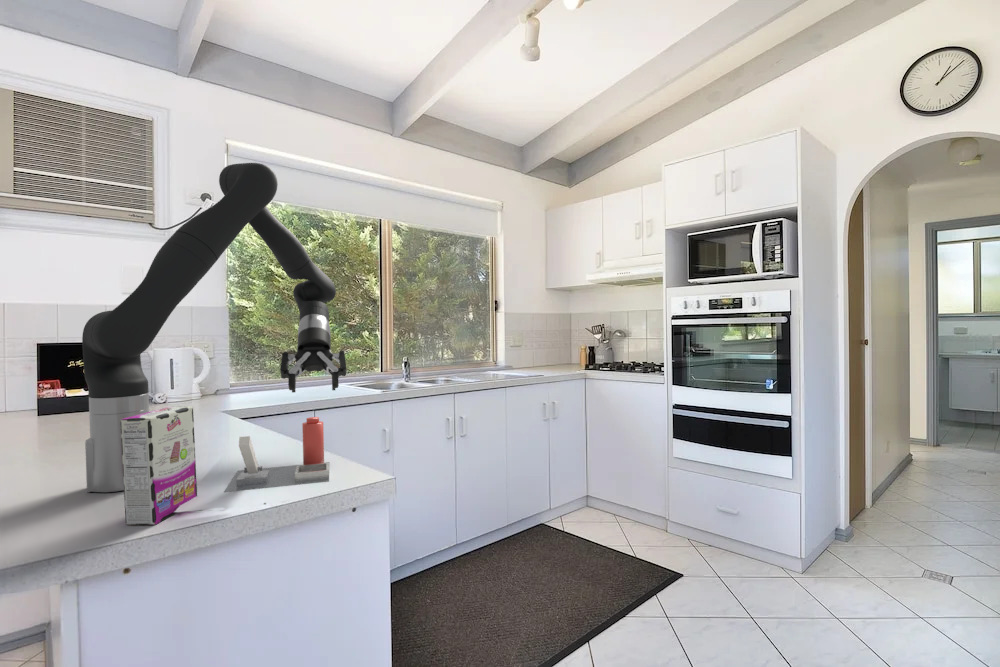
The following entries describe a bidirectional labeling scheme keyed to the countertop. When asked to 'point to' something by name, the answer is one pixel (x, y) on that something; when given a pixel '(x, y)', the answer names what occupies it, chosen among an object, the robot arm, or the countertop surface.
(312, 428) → the red cylindrical peg
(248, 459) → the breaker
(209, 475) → the countertop surface
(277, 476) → the panel
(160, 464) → the candy bar box
